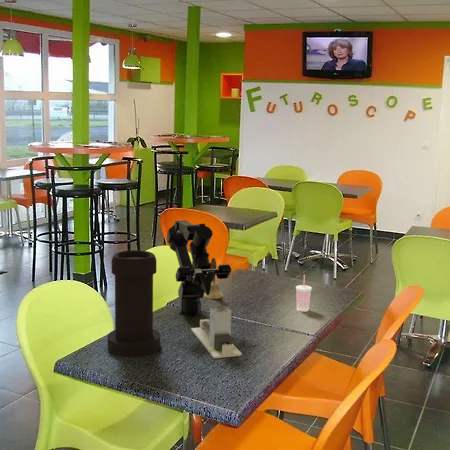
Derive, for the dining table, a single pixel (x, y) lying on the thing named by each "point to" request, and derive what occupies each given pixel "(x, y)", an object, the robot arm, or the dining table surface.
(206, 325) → the steel pipe
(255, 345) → the dining table surface
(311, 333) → the dining table surface
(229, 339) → the dark grey notched block
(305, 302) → the beverage cup
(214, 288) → the hand bell
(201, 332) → the base board
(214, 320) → the beige tall block
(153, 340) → the pipe
